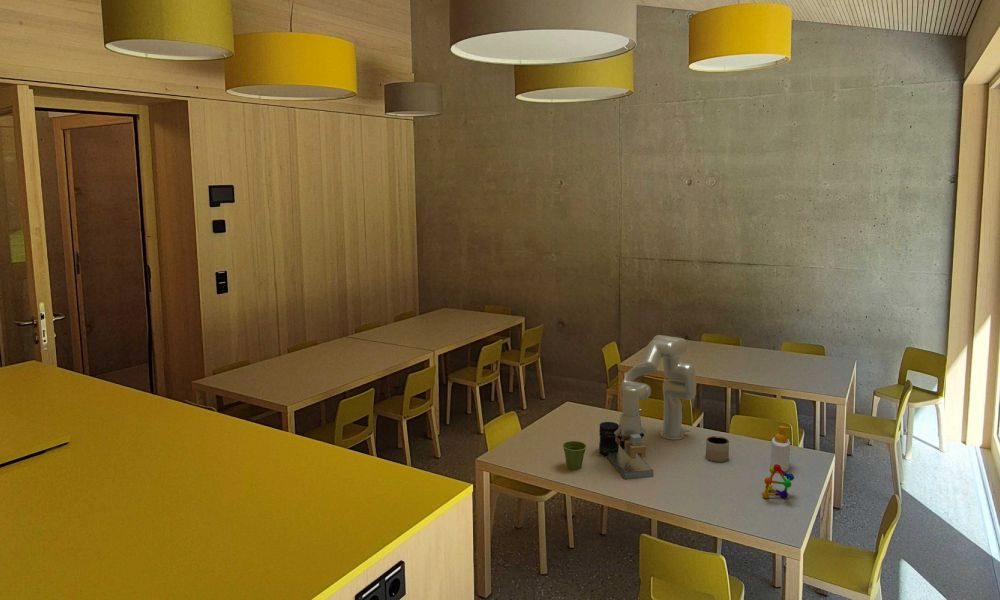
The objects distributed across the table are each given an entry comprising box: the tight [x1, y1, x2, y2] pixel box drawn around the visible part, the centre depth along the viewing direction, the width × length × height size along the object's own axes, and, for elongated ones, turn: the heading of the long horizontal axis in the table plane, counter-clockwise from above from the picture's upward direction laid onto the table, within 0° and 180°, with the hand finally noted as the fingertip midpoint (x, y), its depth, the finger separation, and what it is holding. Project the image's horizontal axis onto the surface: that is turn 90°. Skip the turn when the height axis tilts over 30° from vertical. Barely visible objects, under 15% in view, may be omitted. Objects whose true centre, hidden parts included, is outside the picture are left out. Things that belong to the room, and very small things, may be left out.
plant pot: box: [561, 440, 588, 471], centre depth 334 cm, size 12×12×11 cm
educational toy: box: [761, 464, 795, 499], centre depth 301 cm, size 16×13×15 cm
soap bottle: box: [770, 425, 791, 472], centre depth 329 cm, size 13×8×20 cm, turn 160°
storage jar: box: [598, 421, 620, 458], centre depth 350 cm, size 10×10×15 cm
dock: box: [607, 451, 654, 480], centre depth 333 cm, size 14×24×3 cm, turn 10°
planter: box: [705, 435, 730, 463], centre depth 342 cm, size 11×11×10 cm
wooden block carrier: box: [615, 433, 647, 459], centre depth 331 cm, size 22×7×6 cm, turn 10°
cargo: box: [630, 434, 642, 446], centre depth 324 cm, size 4×4×4 cm
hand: (630, 447), depth 332 cm, fingers closed on wooden block carrier, 7 cm apart
